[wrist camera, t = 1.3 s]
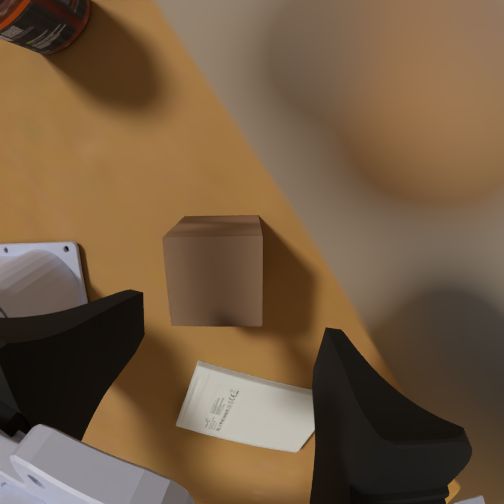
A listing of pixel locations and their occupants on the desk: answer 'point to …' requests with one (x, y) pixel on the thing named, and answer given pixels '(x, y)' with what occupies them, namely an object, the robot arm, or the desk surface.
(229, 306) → the walnut block
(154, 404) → the desk surface
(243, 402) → the external hard drive
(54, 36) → the supplement bottle
